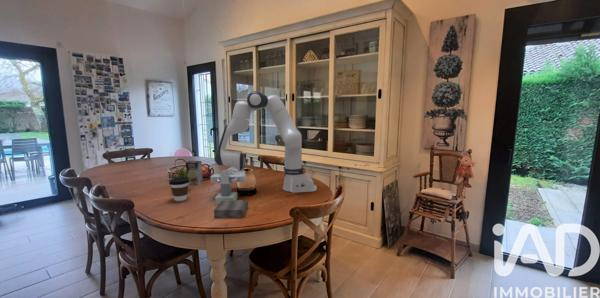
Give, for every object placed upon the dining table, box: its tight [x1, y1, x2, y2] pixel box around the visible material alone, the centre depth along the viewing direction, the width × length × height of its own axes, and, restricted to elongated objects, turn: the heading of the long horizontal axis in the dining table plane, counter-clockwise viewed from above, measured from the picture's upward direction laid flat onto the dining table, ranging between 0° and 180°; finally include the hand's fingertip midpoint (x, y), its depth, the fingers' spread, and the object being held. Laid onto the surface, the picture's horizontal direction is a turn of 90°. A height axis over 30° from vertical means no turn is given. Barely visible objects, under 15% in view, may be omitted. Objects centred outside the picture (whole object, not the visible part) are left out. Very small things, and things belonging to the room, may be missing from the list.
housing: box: [219, 169, 232, 196], centre depth 158 cm, size 5×5×14 cm
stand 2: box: [213, 199, 249, 219], centre depth 143 cm, size 14×14×4 cm
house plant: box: [172, 166, 191, 192], centre depth 180 cm, size 14×14×16 cm
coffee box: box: [185, 160, 203, 186], centre depth 196 cm, size 9×6×16 cm
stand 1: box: [214, 191, 238, 206], centre depth 159 cm, size 10×10×4 cm
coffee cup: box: [168, 177, 189, 202], centre depth 163 cm, size 11×11×12 cm
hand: (225, 181), depth 157 cm, fingers open, 7 cm apart
